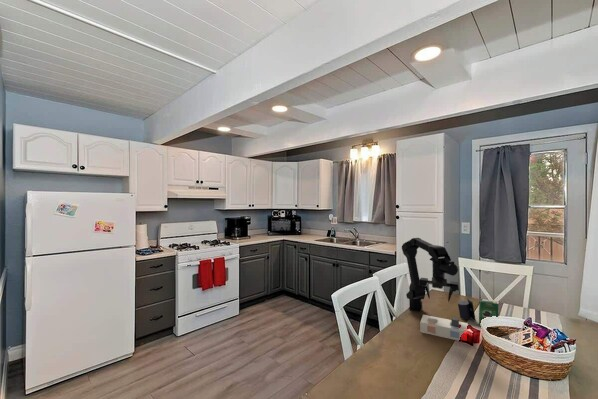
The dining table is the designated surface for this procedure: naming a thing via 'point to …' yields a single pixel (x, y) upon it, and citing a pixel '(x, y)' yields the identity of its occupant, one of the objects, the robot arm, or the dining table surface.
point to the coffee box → (487, 309)
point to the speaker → (466, 310)
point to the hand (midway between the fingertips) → (438, 299)
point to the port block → (441, 327)
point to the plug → (455, 322)
